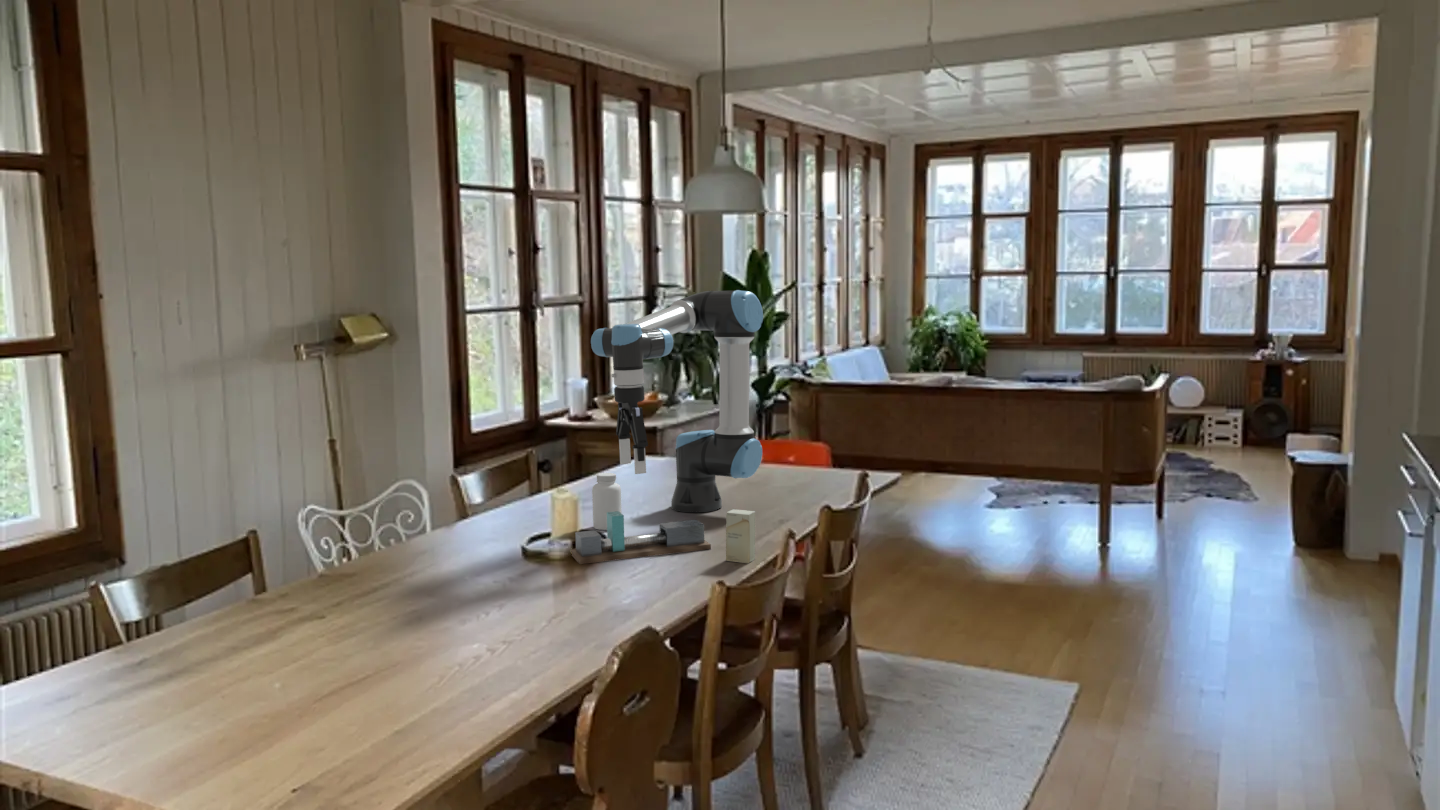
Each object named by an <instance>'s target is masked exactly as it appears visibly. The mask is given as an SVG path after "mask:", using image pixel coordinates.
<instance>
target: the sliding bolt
mask: <svg viewBox="0 0 1440 810" xmlns="http://www.w3.org/2000/svg"><path fill="white" fill-rule="evenodd" d="M606 532H607V533H606V534H607V538H603V539H602V538H601V551H604V550H611V551H612V552H617V551H625V548H631V547H640V546H649V545H658V544H666V533H660V532H659V533H649V534H640V535H632V536H631V535H629V536H625V517H624V514H623V513H622V514H621V513H620V512H619V511H615V512H607V530H606Z"/></svg>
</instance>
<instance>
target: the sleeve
mask: <svg viewBox="0 0 1440 810" xmlns="http://www.w3.org/2000/svg"><path fill="white" fill-rule="evenodd" d="M659 533H666V547H673V546H682V545H691V544H700V543H704V540H705V524H704V523H702V522H701V521H699V520H698V519H691V520H681V521H671V522H661V523H659Z"/></svg>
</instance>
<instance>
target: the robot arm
mask: <svg viewBox="0 0 1440 810" xmlns="http://www.w3.org/2000/svg"><path fill="white" fill-rule="evenodd" d="M763 312H764V311H763V307H762V304H761V302H760V300H759V298H758V297H757V295H756V294H755V293H753V292H752V291H748V290H740V289H736V290H706V291H701V292H696V293H695V294H694V293H693V294H691V295H689V296H686V297H682V298H681V299H677V300H675V301H673V302H672V303H671V304H670V306H669V307H666V308H664V309H661V310H658V311H655V312H652V313H650V314H647V315H645V316H643V317H642V316H641V317H640V318H639V317H638V318H637V319H634V320H631V321H629V322H625V323H623V324H622V323H621V324H615V325H614V326H612V328H611V327H610V328H608V327H603V328H598V329H595V330H594V331H593V334H592V335H591V338H590V344H591V345H590V346H591V349H592V352H593V353H594V354H595V355H597V356H599V357H604V358H612V363H613V366H612V368H613V369H612V370H613V373H612V374H611V377H612V378H613V384H614V386H615V387H614V389H613V393H614V394H613V395H614V401H615V402H616V403H617V419H616V428H615V429H616V430H615V431H616V432H615V434H616V436H617V438H618V444H619V445H618V446H619V447H618V448H619V465H629V464H632V460H631V459H632V458H631V457H632V456H631V440H630V438H632V440H633V443H634V444H633V446H632V450H633V459H634V461H633V463H634V475H642V474H647V462H646V459H647V457H646V447H648V446H649V442H648V438H647V437H648V436H647V431H646V426H645V421H644V412H643V407H641V406H640V407H639V405H638V403H639V402H643V401H644V400H645V387H644V386H643V384H645V376H644V362H643V361H644V360H650V359H656V358H658V359H660V358H662V357H666V356H668V355H669V354H670V353H671V352H672V350H673V348H674V338H673V336H672V335H674V334H677V333H682V334H686V333H689V332H693V331H712V332H713V334H714V336H713V337H714V339H715V340H716V341H717V342H718V345H719V426H718V427H717V428H716V429H715V430H714V429H702V430H694V431H687V432H683V433H679V434H678V435H677V436H676V438H675V439H676V440H675V441H676V442H675V448H674V449H675V456H676V457H675V458H676V459H675V460H676V461H675V462H676V463H675V464H676V467H675V468H676V469H675V470H676V484H675V487H674V491H673V494H672V497H671V505H670V506H671V509H672V510H674V511H676V512H680V513H708V512H713V511H718V510H720V509H721V508H722V507H723V504H722V501H723V500H722V496H721V494H720V491H719V487H718V486H717V482H716V477H725V478H727V477H728V478H733V479H748V478H751V477H752V476H753V475H755V474H756V472H757V471H758V469H759V468H760V465H761V462H762V457H763V446H762V444H761V442H760V440H759V439H757V438H755V431H754V430H753V428H752V427H751V426H750V343H751V342H752V341H753V340H754V339H755V333H756V332H757V331H759V330H760V328H761V327H762V324H763V321H764V320H763V319H764V313H763ZM630 432H631V433H630ZM631 436H632V437H631ZM719 508H720V509H719ZM717 509H718V510H717Z"/></svg>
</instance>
